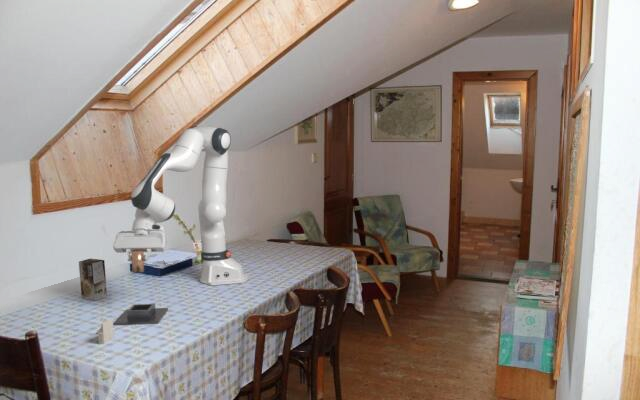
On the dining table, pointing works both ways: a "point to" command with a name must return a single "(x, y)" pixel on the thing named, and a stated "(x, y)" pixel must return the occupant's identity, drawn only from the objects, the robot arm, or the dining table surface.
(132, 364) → the dining table surface
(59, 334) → the dining table surface
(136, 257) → the copper pipe stub
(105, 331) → the architectural model
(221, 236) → the robot arm
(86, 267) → the coffee box
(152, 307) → the duct collar
